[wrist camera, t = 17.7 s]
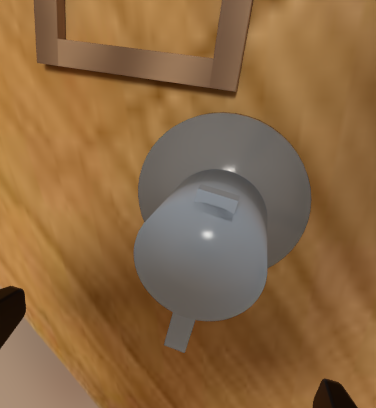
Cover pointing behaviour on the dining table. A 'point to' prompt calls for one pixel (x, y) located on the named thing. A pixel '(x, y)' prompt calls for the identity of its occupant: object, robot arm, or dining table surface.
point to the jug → (204, 251)
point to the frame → (145, 59)
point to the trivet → (233, 170)
